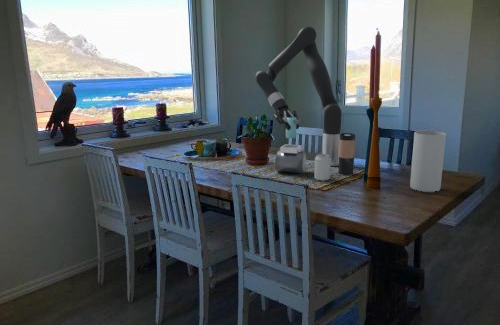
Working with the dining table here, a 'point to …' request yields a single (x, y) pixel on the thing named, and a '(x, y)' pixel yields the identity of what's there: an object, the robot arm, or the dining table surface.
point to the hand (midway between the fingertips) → (293, 128)
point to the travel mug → (346, 153)
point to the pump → (292, 127)
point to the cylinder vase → (427, 160)
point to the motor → (290, 159)
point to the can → (322, 167)
